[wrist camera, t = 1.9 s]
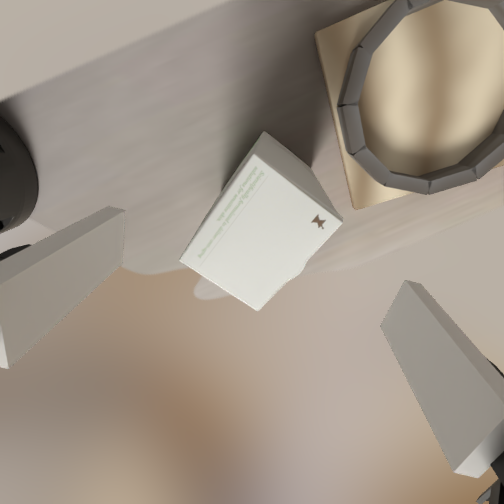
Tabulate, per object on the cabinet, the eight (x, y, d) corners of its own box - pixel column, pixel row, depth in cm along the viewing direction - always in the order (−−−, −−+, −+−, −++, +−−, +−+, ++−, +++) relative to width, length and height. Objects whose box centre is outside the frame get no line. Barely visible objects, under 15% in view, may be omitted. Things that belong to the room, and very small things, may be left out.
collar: (352, 207, 31) (362, 217, 28) (314, 35, 25) (320, 22, 22) (521, 155, 28) (555, 160, 24) (523, -57, 22) (569, -88, 18)
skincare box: (264, 129, 28) (255, 140, 14) (315, 171, 30) (353, 219, 16) (217, 196, 31) (171, 260, 17) (265, 231, 33) (259, 317, 19)
